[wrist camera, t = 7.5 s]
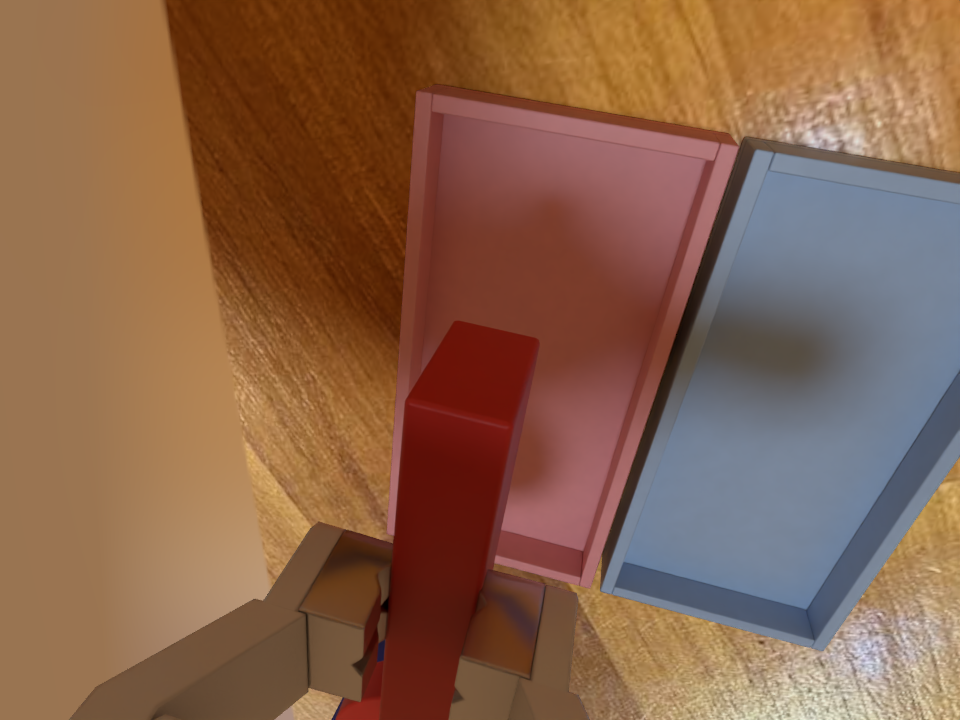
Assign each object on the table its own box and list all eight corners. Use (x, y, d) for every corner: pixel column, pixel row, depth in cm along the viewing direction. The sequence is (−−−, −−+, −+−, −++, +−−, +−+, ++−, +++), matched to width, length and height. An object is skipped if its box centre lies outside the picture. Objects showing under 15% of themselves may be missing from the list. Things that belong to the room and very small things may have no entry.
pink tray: (401, 503, 28) (386, 534, 26) (435, 83, 19) (415, 90, 17) (593, 553, 27) (590, 589, 25) (730, 133, 18) (740, 146, 16)
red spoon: (363, 296, 10) (289, 370, 8) (640, 358, 9) (639, 456, 7) (348, 736, 16) (306, 837, 14) (505, 787, 16) (486, 900, 14)
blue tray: (602, 555, 27) (599, 591, 25) (744, 136, 18) (755, 148, 16) (810, 610, 26) (823, 652, 24) (1080, 193, 16) (1132, 213, 15)
